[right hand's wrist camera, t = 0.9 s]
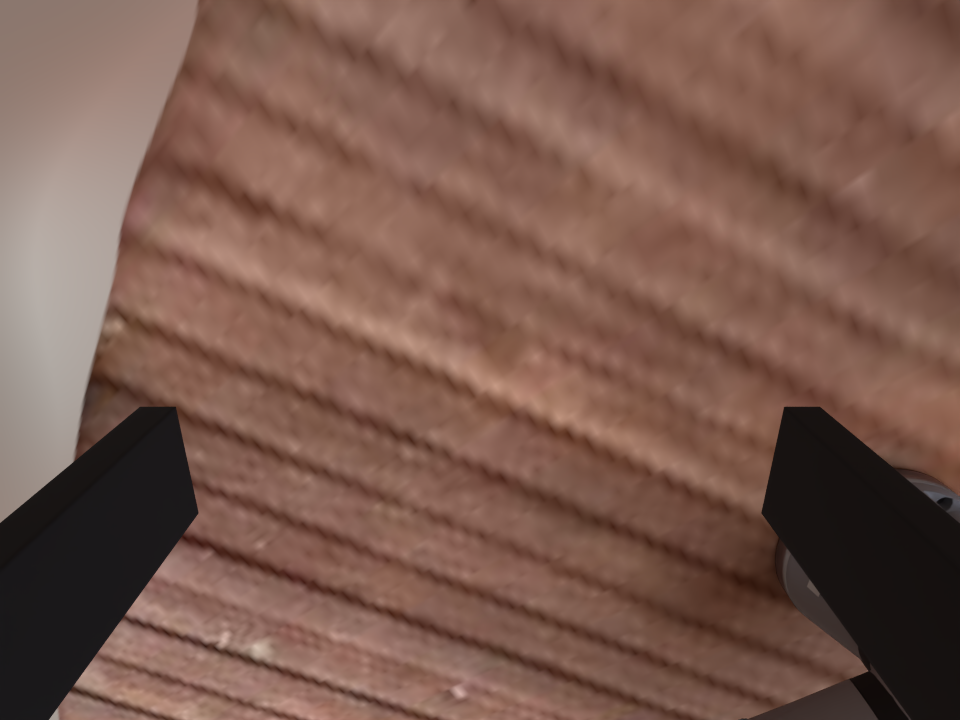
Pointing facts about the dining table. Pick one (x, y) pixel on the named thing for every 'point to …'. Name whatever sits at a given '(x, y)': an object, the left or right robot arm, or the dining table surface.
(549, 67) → the dining table surface
